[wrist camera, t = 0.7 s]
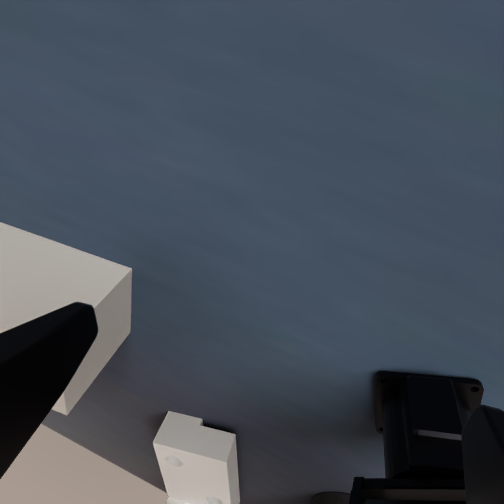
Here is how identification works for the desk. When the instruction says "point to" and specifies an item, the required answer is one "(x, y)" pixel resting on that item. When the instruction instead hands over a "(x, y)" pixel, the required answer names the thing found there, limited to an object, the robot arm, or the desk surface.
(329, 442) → the desk surface
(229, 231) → the desk surface
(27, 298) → the white cardboard box
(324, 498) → the travel mug
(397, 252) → the desk surface
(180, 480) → the bracket
